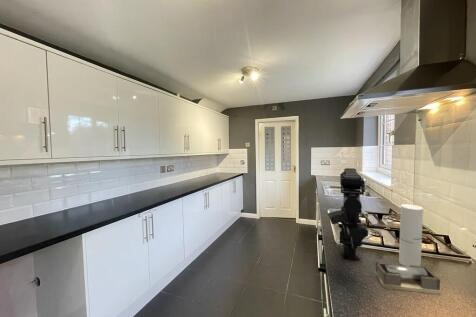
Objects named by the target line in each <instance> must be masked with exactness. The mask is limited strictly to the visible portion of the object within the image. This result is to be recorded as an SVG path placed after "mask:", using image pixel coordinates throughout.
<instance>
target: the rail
mask: <svg viewBox="0 0 476 317" xmlns="http://www.w3.org/2000/svg"><path fill="white" fill-rule="evenodd" d="M384 270H385V272H386V273H393V274H400V275H401V278H405V279H415V280H420V278H421V276H423V277H428V274H427V272H426V270H425V269H424V268H416V267H406V266H404V265H393V264H391V265H385V266H384Z"/></svg>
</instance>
